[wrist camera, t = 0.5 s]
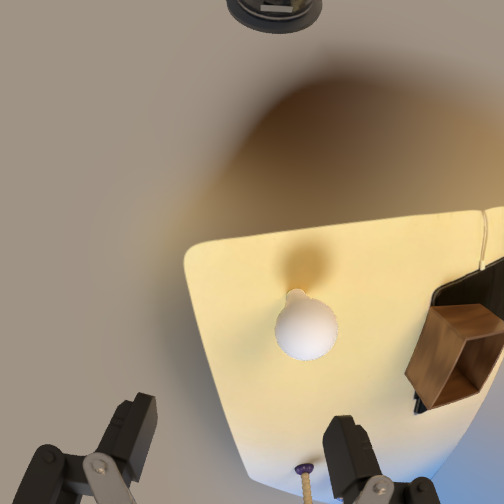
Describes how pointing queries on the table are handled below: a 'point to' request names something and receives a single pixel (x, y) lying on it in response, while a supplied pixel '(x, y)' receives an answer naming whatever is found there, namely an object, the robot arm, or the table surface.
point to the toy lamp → (305, 481)
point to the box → (455, 353)
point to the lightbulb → (305, 327)
